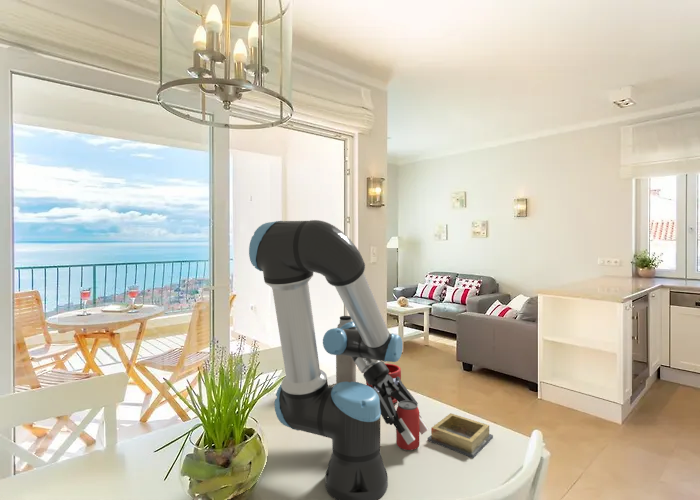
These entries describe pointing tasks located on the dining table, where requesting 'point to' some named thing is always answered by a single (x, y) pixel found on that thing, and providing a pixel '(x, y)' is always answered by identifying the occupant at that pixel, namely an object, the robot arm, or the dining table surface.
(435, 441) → the frame
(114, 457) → the dining table surface
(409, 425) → the beer can
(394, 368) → the plant pot
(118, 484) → the dining table surface
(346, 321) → the thermos bottle
